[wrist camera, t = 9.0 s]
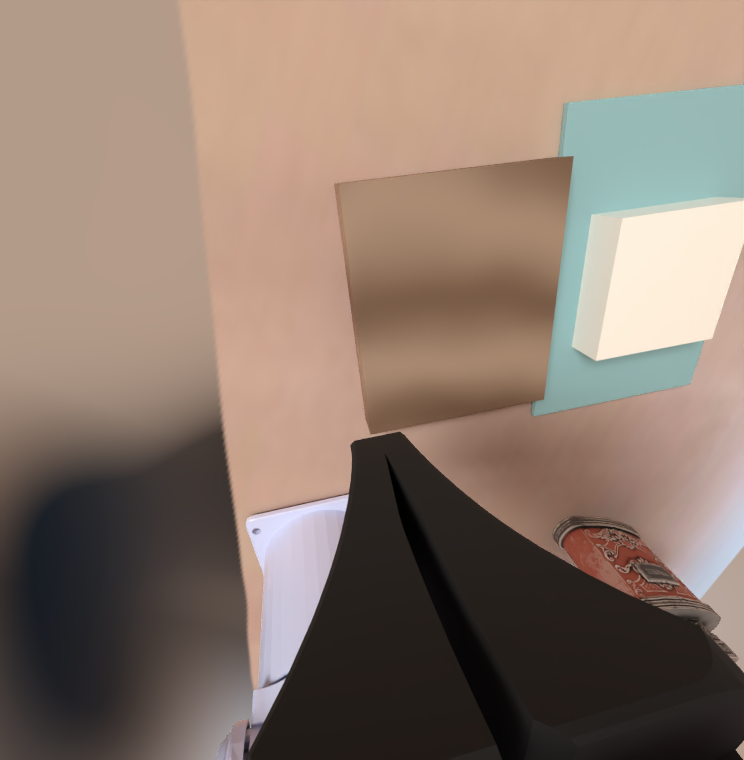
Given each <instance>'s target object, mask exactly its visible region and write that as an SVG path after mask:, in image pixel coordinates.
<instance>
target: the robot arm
mask: <svg viewBox="0 0 744 760" xmlns="http://www.w3.org/2000/svg"><path fill="white" fill-rule="evenodd" d="M350 446H351V452H352V473H351V483H350V489H349V494H348V495H343V496H339V497H334V498H329V499H325V500H320V501H316V502H311V503H307V504H302V505H298V506H293V507H289V508H284V509H280V510H275V511H271V512H266V513H261V514H257V515H253V516H250V517H249V518H248V519H247V521H246V528H247V531H248V533H249V536H250V539H251V542H252V544H253V547H254V550H255V553H256V555H257V558H258V561H259V564H260V566H261V569H262V572H263V575H264V583H263V602H262V621H261V640H260V659H259V678H258V689H255V690H254V692H253V706H252V722H251V728H250V724H249V720H248V719H247V720H242V721H238V722H236V723H235V724H234V725H233V727H232V730H231V732H230V733H229V734H228V735H227V736H226V738H225V739H224V741H223V742H222V743H221V745H220V747H219V750H218V754H217V759H216V760H743V759H742V758H741V757H740V755H739V754H738V753H737V751H736V749H737V747H738V746H739V745H740V744H741V743H742V742H743V741H744V673H743V671H742V670H741V669H740V668H739V667H738V666H737V665H736V663H735V662H734V661H733V660H732V659H731V658H730V657H729V656H728V654H727V653H726V652H725V651H724V650H723V649H722V648H721V647H720V646H719V645H718V644H717V643H716V642H715V641H714V640H713V639H712V638H711V637H710V636H709V635H708V634H707V633H706V632H705V631H704V630H703V629H702V628H701V627H700V626H699V625H696V624H694V623H692V622H689V621H687V620H685V619H683V618H680V617H678V616H676V615H674V614H671V613H669V612H667V611H665V610H662V609H660V608H658V607H656V606H653V605H651V604H649V603H647V602H644V601H642V600H640V599H638V598H635V597H633V596H631V595H629V594H627V593H625V592H622V591H620V590H618V589H616V588H614V587H612V586H610V585H609V584H607V583H605V582H603V581H601V580H599V579H597V578H595V577H593V576H591V575H589V574H587V573H585V572H583V571H581V570H579V569H578V568H576V567H574V566H572V565H571V564H569V563H567V562H565V561H564V560H562V559H560V558H558V557H557V556H555V555H553V554H551V553H550V552H548V551H546V550H544V549H543V548H541V547H539V546H538V545H536V544H534V543H533V542H531V541H530V540H528V539H527V538H525V537H524V536H522V535H520V534H519V533H517V532H516V531H514V530H513V529H511V528H510V527H509V526H507V525H506V524H504V523H503V522H501V521H500V520H498V519H497V518H496V517H494V516H493V515H492V514H490V513H489V512H488V511H486V510H485V509H484V508H482V507H481V506H480V505H478V504H477V503H476V502H475V501H473V500H472V499H471V498H470V497H468V496H467V495H466V494H465V493H464V492H462V491H461V490H460V489H459V488H458V487H456V486H455V485H454V484H453V483H452V482H451V481H450V480H449V479H447V478H446V477H445V476H444V475H443V474H442V473H441V472H440V471H439V470H438V469H436V468H435V467H434V466H433V465H432V464H431V463H430V462H429V461H428V460H427V459H426V458H425V457H424V456H423V455H422V454H421V453H420V452H419V451H418V450H417V449H416V448H415V446H414V445H413V444H412V443H411V442H410V441H409V440H408V439H407V438H406V436H405V435H404V434H402V433H401V432H396V433H391V434H386V435H382V436H377V437H372V438H367V439H362V440H357V441H354V442H353V443H352V444H351V445H350ZM255 528H258V530H255Z"/></svg>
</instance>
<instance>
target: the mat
mask: <svg viewBox="0 0 744 760" xmlns="http://www.w3.org/2000/svg"><path fill="white" fill-rule="evenodd" d="M566 156H574V158H573V166H572V174H571V182H570V191H569V199H568V207H567V215H566V223H565V231H564V240H563V248H562V256H561V264H560V272H559V281H558V289H557V297H556V305H555V313H554V321H553V330H552V338H551V346H550V354H549V362H548V371H547V379H546V387H545V395H544V400H539V401H534V402H532V411H531V414H532V415H533V416H534V417H535V416H540V415H544V414H549V413H554V412H559V411H564V410H568V409H573V408H578V407H583V406H588V405H592V404H597V403H602V402H607V401H612V400H616V399H621V398H626V397H631V396H636V395H641V394H645V393H650V392H655V391H660V390H665V389H669V388H674V387H679V386H684V385H689V384H691V381H692V377H693V374H694V371H695V368H696V365H697V362H698V359H699V356H700V353H701V349H702V346H703V343H704V340H702V341H697V342H692V343H687V344H681V345H676V346H671V347H666V348H661V349H656V350H650V351H645V352H640V353H635V354H630V355H624V356H619V357H614V358H609V359H604V360H599V361H595V360H593V359H592V358H590V357H588V356H587V355H585V354H583V353H582V352H580V351H578V350H576V349H575V348H573V347H572V342H573V335H574V328H575V322H576V315H577V308H578V302H579V295H580V288H581V282H582V275H583V268H584V262H585V255H586V248H587V242H588V235H589V228H590V222H591V215H593V214H600V213H607V212H614V211H621V210H628V209H635V208H642V207H649V206H656V205H663V204H670V203H677V202H684V201H691V200H698V199H705V198H712V197H732V198H744V85H734V86H724V87H715V88H705V89H695V90H685V91H676V92H666V93H656V94H646V95H637V96H627V97H617V98H607V99H598V100H588V101H578V102H569V103H565V104H564V111H563V120H562V129H561V139H560V148H559V157H566Z"/></svg>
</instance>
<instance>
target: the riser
mask: <svg viewBox="0 0 744 760" xmlns="http://www.w3.org/2000/svg"><path fill="white" fill-rule="evenodd" d="M573 158H574V156H566V157H553V158H545V159H537V160H528V161H520V162H512V163H503V164H495V165H487V166H479V167H470V168H462V169H454V170H446V171H437V172H429V173H421V174H412V175H404V176H396V177H388V178H379V179H371V180H363V181H354V182H346V183H338V184H335V191H336V199H337V206H338V214H339V221H340V229H341V236H342V244H343V251H344V259H345V266H346V274H347V281H348V289H349V297H350V304H351V312H352V319H353V327H354V334H355V342H356V349H357V357H358V364H359V372H360V379H361V387H362V394H363V402H364V409H365V417H366V421H367V424H368V427H369V430H370V433H371V434H376V433H381V432H386V431H391V430H396V429H401V428H406V427H411V426H416V425H421V424H426V423H431V422H435V421H440V420H445V419H450V418H455V417H460V416H465V415H470V414H475V413H480V412H485V411H490V410H495V409H500V408H505V407H509V406H514V405H519V404H524V403H529V402H534V401H539V400H544V395H545V387H546V379H547V371H548V362H549V354H550V346H551V338H552V330H553V321H554V313H555V305H556V297H557V289H558V281H559V272H560V264H561V256H562V248H563V240H564V231H565V223H566V215H567V207H568V199H569V191H570V182H571V174H572V166H573Z"/></svg>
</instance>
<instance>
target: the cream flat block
mask: <svg viewBox="0 0 744 760" xmlns="http://www.w3.org/2000/svg"><path fill="white" fill-rule="evenodd" d="M743 243H744V198H732V197H712V198H705V199H698V200H691V201H684V202H677V203H670V204H663V205H656V206H649V207H642V208H635V209H628V210H621V211H614V212H607V213H600V214H593V215H591V222H590V228H589V235H588V242H587V248H586V255H585V262H584V268H583V275H582V282H581V288H580V295H579V302H578V308H577V315H576V322H575V328H574V335H573V342H572V347H573V348H575V349H576V350H578V351H580V352H582V353H583V354H585V355H587V356H588V357H590V358H592V359H593V360H595V361H599V360H604V359H609V358H614V357H619V356H624V355H630V354H635V353H640V352H645V351H650V350H656V349H661V348H666V347H671V346H676V345H681V344H687V343H692V342H697V341H702V340H707V339H712V337H713V334H714V331H715V328H716V325H717V322H718V319H719V316H720V313H721V310H722V307H723V304H724V301H725V298H726V294H727V291H728V288H729V285H730V282H731V279H732V276H733V273H734V270H735V267H736V264H737V261H738V258H739V255H740V252H741V249H742V246H743Z"/></svg>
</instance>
